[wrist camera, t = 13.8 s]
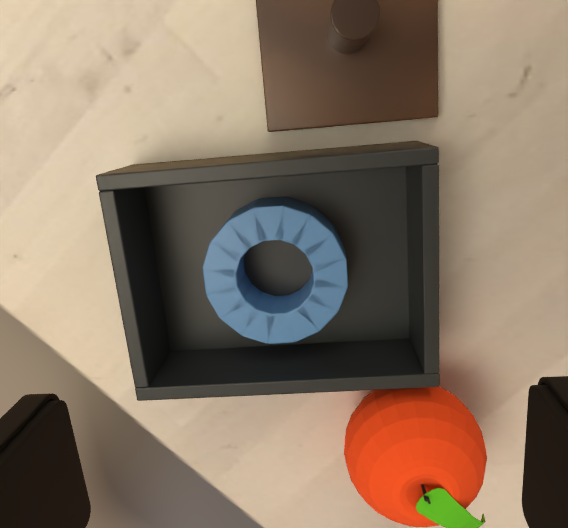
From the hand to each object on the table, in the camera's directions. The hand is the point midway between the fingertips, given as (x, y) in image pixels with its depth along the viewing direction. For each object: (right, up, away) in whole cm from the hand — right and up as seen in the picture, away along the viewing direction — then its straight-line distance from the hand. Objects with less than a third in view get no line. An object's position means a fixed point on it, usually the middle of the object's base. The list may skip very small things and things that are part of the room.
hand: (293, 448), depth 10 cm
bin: (0, +4, +17) cm, 17 cm away
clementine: (+7, -5, +19) cm, 21 cm away
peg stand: (+3, +14, +14) cm, 20 cm away
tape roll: (0, +4, +16) cm, 17 cm away
